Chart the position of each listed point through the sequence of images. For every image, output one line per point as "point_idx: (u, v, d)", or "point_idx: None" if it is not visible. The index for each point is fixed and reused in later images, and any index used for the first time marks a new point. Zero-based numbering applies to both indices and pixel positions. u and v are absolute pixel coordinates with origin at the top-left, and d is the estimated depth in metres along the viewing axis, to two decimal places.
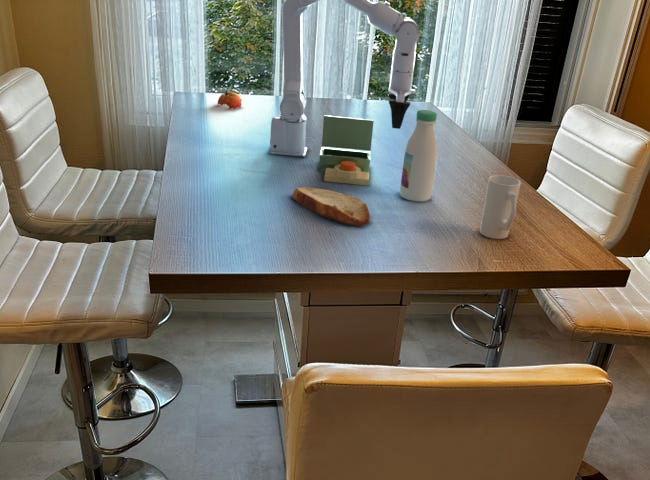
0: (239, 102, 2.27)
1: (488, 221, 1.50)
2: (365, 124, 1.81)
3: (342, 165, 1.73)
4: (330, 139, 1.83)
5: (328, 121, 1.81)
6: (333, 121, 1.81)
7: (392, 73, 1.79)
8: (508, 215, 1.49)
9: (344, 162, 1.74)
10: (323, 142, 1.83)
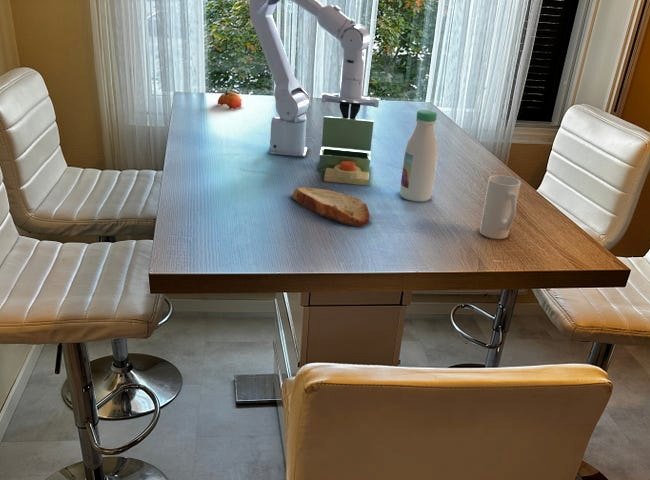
0: (239, 102, 2.27)
1: (488, 221, 1.50)
2: (365, 125, 1.81)
3: (342, 165, 1.73)
4: (330, 139, 1.83)
5: (328, 122, 1.80)
6: (333, 122, 1.80)
7: None
8: (508, 215, 1.49)
9: (344, 162, 1.74)
10: (323, 142, 1.83)
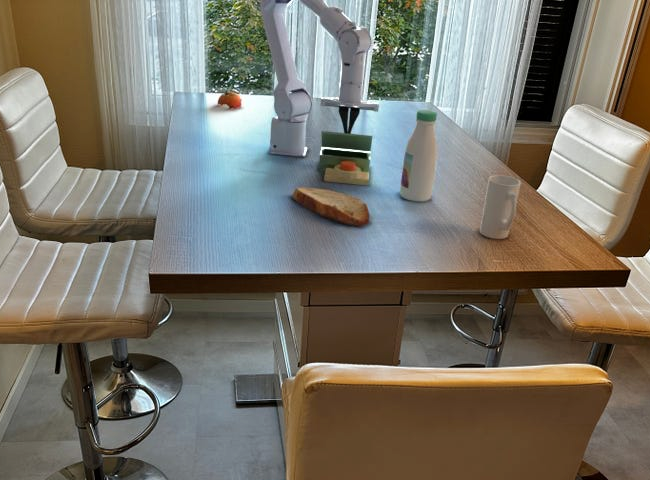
0: (239, 102, 2.27)
1: (488, 221, 1.50)
2: (364, 139, 1.78)
3: (342, 165, 1.73)
4: (330, 144, 1.82)
5: (326, 136, 1.78)
6: (331, 136, 1.78)
7: None
8: (508, 215, 1.49)
9: (344, 162, 1.74)
10: (323, 145, 1.83)
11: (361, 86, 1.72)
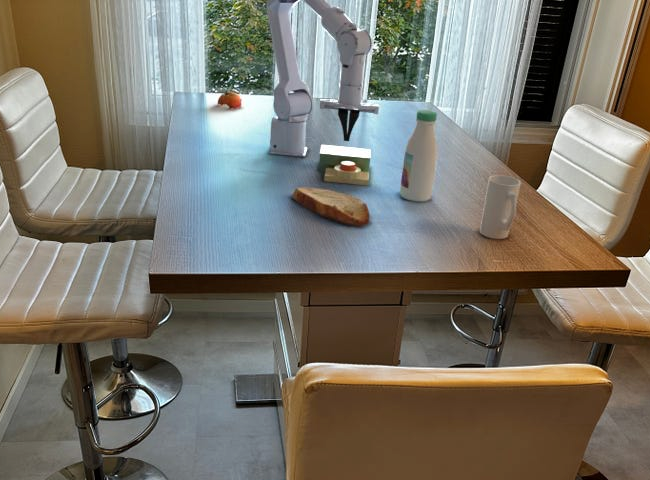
0: (239, 102, 2.27)
1: (488, 221, 1.50)
2: None
3: (342, 165, 1.73)
4: None
5: None
6: None
7: None
8: (508, 215, 1.49)
9: (344, 162, 1.74)
10: None
11: (361, 88, 1.70)
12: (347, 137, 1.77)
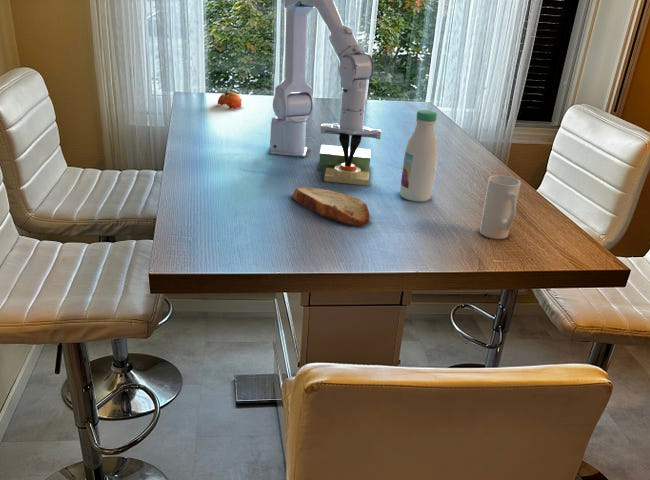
0: (239, 102, 2.27)
1: (488, 221, 1.50)
2: None
3: (342, 167, 1.73)
4: None
5: None
6: None
7: None
8: (508, 215, 1.49)
9: (344, 164, 1.74)
10: None
11: (363, 113, 1.66)
12: (348, 162, 1.72)
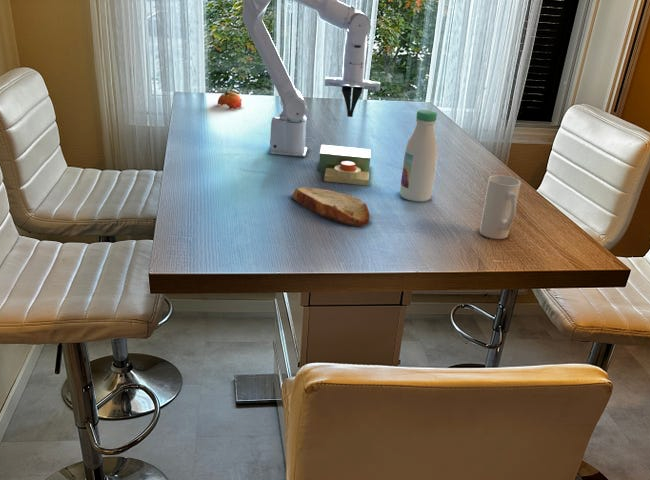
0: (239, 102, 2.27)
1: (488, 221, 1.50)
2: None
3: (342, 165, 1.73)
4: None
5: None
6: None
7: None
8: (508, 215, 1.49)
9: (344, 162, 1.74)
10: None
11: (363, 66, 1.82)
12: (350, 113, 1.88)
